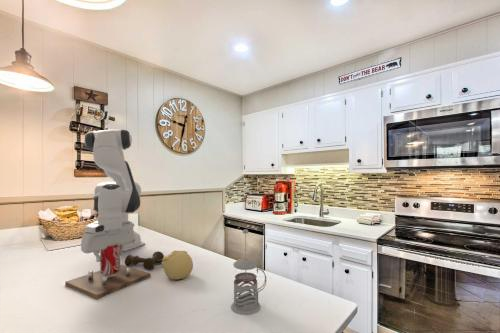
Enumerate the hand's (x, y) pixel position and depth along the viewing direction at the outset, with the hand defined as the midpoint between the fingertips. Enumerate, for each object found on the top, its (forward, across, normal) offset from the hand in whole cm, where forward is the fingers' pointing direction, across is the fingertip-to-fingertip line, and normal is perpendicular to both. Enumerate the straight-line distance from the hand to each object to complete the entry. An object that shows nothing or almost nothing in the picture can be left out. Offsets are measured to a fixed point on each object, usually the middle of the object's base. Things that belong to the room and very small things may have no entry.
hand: (109, 258), depth 102 cm
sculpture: (+9, -17, +21) cm, 29 cm away
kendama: (+10, -19, -2) cm, 21 cm away
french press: (+9, -11, +59) cm, 61 cm away
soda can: (+6, 0, 0) cm, 6 cm away
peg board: (+9, 0, 0) cm, 9 cm away
